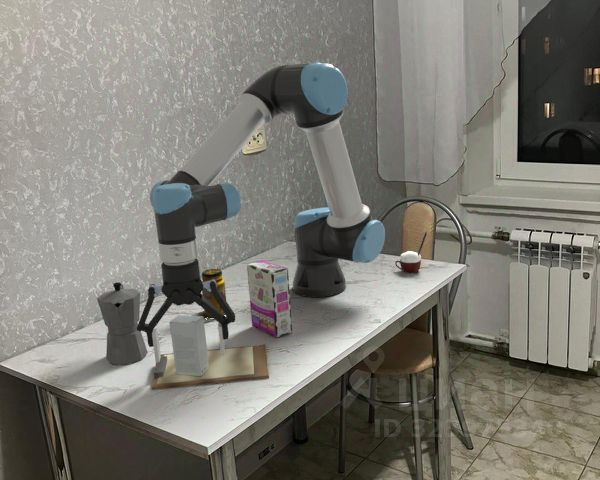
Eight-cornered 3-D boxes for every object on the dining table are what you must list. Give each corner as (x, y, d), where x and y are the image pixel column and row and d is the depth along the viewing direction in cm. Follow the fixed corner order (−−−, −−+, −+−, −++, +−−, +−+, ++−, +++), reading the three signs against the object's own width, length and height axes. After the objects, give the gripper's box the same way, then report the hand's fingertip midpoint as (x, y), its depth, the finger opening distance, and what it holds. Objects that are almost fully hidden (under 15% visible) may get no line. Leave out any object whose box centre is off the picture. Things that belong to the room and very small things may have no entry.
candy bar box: (293, 332, 159) (289, 268, 155) (277, 338, 156) (271, 273, 152) (267, 320, 168) (262, 259, 163) (251, 326, 165) (245, 263, 160)
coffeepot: (148, 365, 146) (138, 288, 142) (104, 372, 144) (92, 294, 140) (147, 339, 161) (138, 269, 156) (108, 345, 159) (97, 274, 154)
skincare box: (210, 368, 141) (204, 315, 138) (201, 377, 137) (194, 323, 134) (184, 365, 143) (178, 314, 140) (175, 374, 139) (168, 321, 136)
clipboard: (265, 346, 152) (265, 339, 151) (268, 377, 136) (268, 370, 136) (160, 356, 150) (159, 349, 150) (152, 389, 135) (150, 381, 134)
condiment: (233, 314, 173) (229, 271, 170) (204, 323, 169) (199, 278, 166) (221, 307, 179) (216, 265, 176) (192, 315, 175) (187, 272, 172)
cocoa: (394, 273, 199) (390, 235, 196) (402, 267, 204) (399, 230, 201) (423, 276, 194) (420, 237, 190) (431, 269, 198) (428, 231, 195)
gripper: (113, 271, 129) (128, 370, 135) (241, 260, 131) (250, 358, 136) (120, 260, 136) (133, 354, 142) (240, 250, 138) (249, 343, 144)
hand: (190, 356), depth 139 cm, fingers open, 13 cm apart
